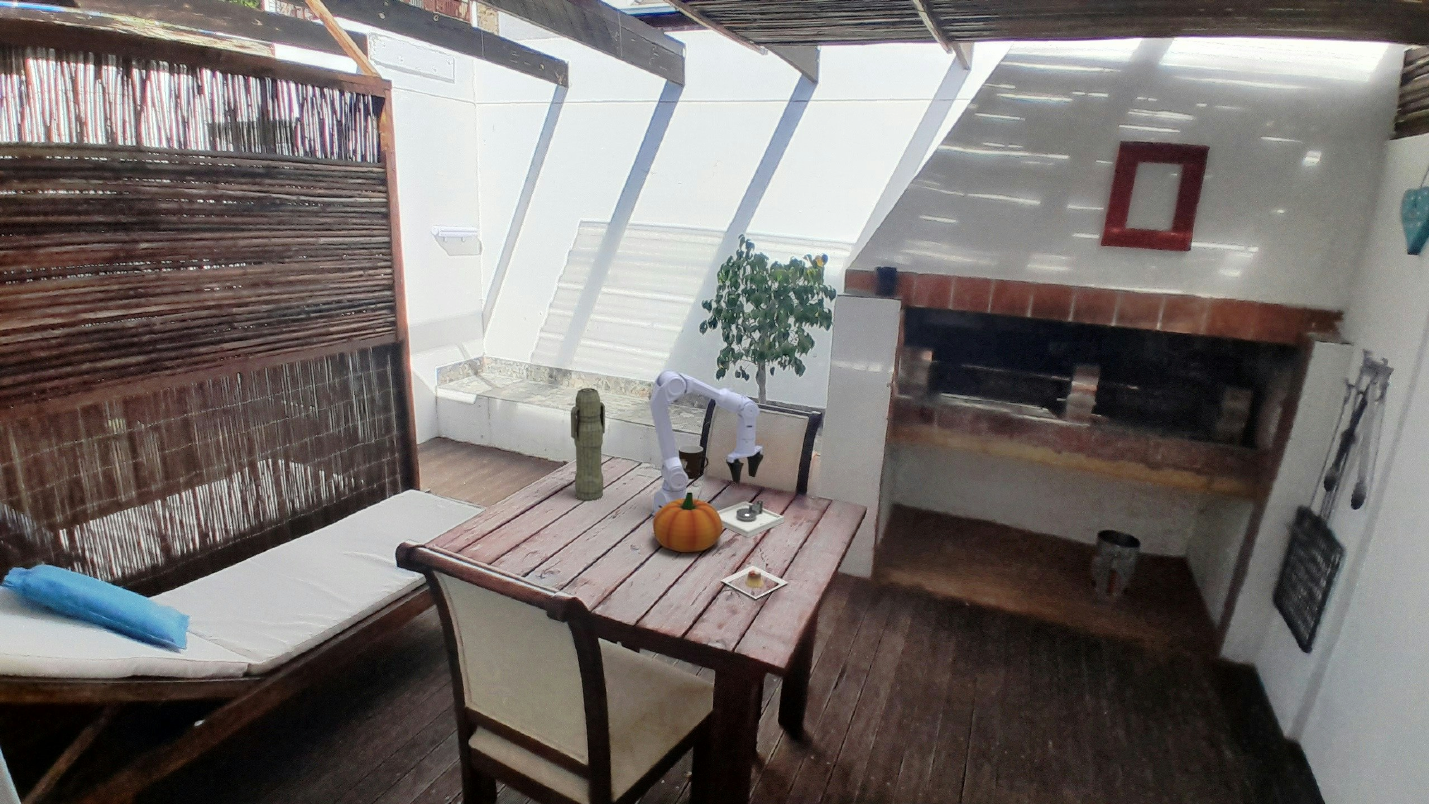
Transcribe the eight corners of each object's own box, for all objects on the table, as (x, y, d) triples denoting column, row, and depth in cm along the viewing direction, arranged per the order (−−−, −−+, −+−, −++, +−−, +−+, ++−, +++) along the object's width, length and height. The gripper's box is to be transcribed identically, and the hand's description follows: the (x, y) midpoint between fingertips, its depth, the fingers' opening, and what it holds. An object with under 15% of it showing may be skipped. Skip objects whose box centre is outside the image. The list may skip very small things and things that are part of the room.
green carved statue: (565, 497, 229) (563, 390, 220) (593, 487, 238) (592, 384, 229) (584, 504, 223) (582, 395, 215) (612, 494, 232) (611, 389, 224)
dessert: (720, 584, 178) (720, 566, 177) (752, 569, 187) (753, 552, 185) (755, 603, 170) (756, 584, 169) (788, 586, 178) (789, 568, 177)
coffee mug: (674, 473, 253) (674, 446, 250) (696, 470, 257) (697, 443, 254) (686, 484, 243) (687, 456, 240) (709, 481, 246) (710, 453, 244)
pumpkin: (677, 522, 212) (678, 475, 209) (734, 538, 203) (736, 488, 199) (638, 546, 196) (638, 495, 193) (697, 565, 187) (699, 511, 183)
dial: (746, 522, 210) (747, 512, 209) (732, 516, 214) (732, 506, 214) (768, 513, 217) (769, 503, 216) (754, 507, 221) (754, 498, 220)
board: (747, 537, 204) (747, 531, 203) (708, 520, 215) (708, 514, 214) (783, 522, 215) (784, 516, 214) (744, 506, 226) (745, 501, 225)
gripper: (751, 429, 227) (749, 470, 230) (720, 439, 216) (718, 481, 220) (768, 434, 222) (766, 476, 226) (737, 444, 212) (736, 487, 215)
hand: (744, 479), depth 222 cm, fingers open, 7 cm apart
